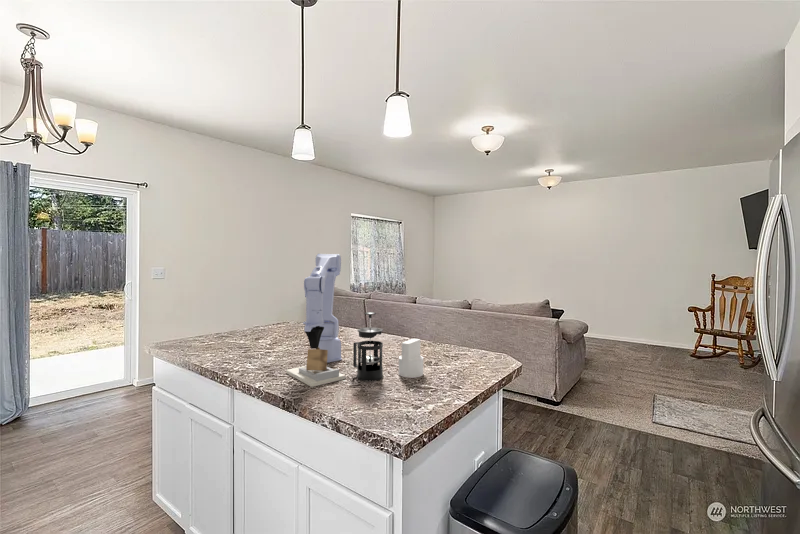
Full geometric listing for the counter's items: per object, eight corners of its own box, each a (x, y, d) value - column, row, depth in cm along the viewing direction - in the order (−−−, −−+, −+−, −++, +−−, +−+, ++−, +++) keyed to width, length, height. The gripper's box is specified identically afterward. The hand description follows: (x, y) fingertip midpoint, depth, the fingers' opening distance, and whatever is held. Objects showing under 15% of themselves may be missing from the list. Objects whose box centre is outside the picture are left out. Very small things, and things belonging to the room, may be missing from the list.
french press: (389, 375, 134) (389, 311, 133) (377, 383, 125) (377, 315, 124) (361, 370, 138) (361, 309, 138) (347, 378, 130) (347, 312, 129)
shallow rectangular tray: (318, 366, 144) (318, 357, 144) (345, 378, 129) (345, 368, 129) (286, 373, 135) (286, 363, 135) (311, 387, 121) (311, 376, 121)
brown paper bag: (314, 370, 134) (316, 348, 136) (326, 370, 132) (327, 347, 134) (306, 370, 130) (307, 347, 132) (318, 369, 128) (319, 346, 130)
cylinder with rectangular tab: (415, 379, 130) (415, 345, 129) (393, 374, 134) (394, 341, 134) (427, 372, 137) (427, 340, 137) (406, 368, 142) (406, 337, 142)
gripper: (310, 307, 140) (310, 342, 140) (295, 312, 126) (295, 352, 126) (328, 307, 139) (328, 343, 140) (315, 313, 125) (315, 353, 125)
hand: (314, 347), depth 133 cm, fingers closed
